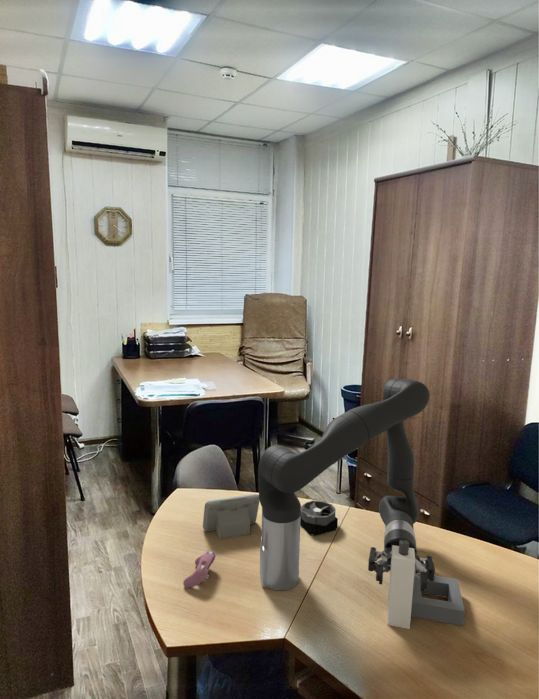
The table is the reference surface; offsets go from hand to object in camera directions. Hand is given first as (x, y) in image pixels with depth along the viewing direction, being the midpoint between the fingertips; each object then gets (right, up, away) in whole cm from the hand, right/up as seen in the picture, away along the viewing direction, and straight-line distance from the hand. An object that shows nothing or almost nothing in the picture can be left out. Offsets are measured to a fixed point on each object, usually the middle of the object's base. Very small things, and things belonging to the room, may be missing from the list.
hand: (401, 583), depth 105 cm
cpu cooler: (-14, -2, +40) cm, 43 cm away
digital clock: (-39, -2, +38) cm, 54 cm away
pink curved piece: (-45, -6, +16) cm, 48 cm away
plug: (0, -9, +3) cm, 10 cm away
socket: (+10, -8, +8) cm, 15 cm away
